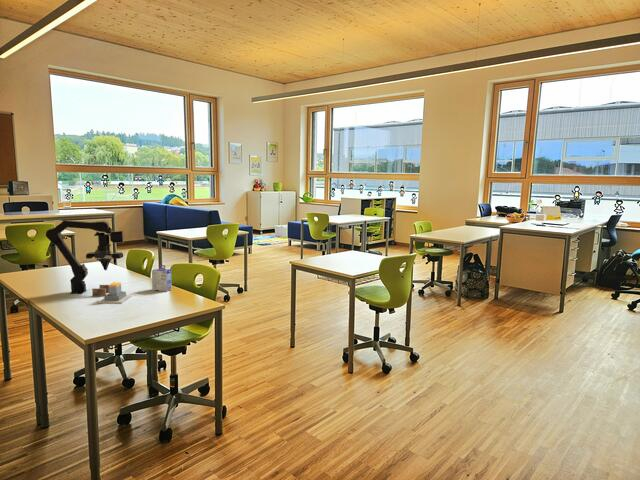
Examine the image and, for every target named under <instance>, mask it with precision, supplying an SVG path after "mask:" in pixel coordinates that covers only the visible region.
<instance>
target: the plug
mask: <svg viewBox="0 0 640 480" xmlns="http://www.w3.org/2000/svg"><path fill="white" fill-rule="evenodd" d="M108 285H109V292H108V294H109V296H118V295H119V294H121V293H122V292H123V291H122V282H121V281H120V282H119V281H118V282H116V281H115V282H112V283H110V284H108Z"/></svg>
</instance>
